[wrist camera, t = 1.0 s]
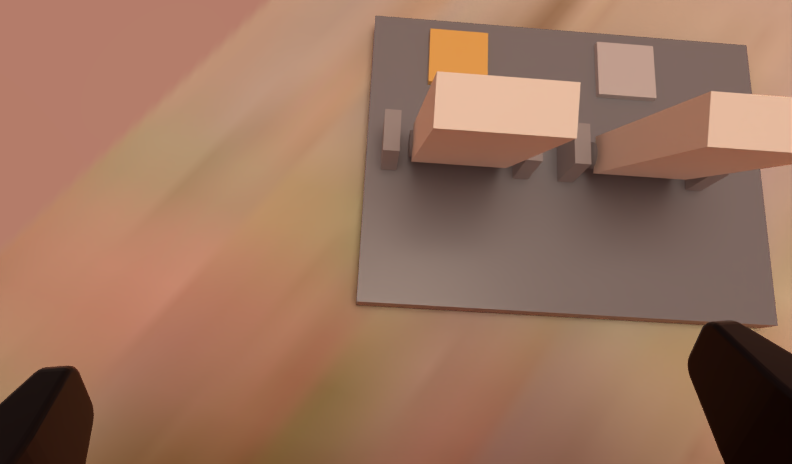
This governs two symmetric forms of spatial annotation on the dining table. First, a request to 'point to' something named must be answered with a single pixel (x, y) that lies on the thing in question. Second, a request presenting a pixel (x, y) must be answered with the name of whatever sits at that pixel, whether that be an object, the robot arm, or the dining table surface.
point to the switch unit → (558, 189)
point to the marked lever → (492, 119)
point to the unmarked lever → (700, 138)
